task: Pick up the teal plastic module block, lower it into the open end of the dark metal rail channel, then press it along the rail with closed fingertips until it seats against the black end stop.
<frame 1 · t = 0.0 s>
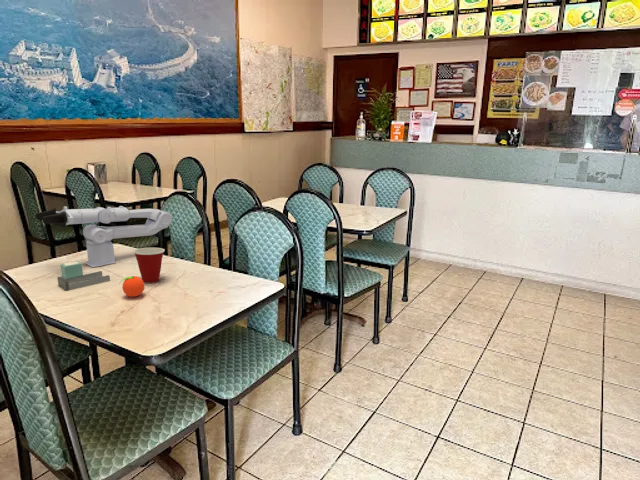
hand: (39, 218, 165), 22 cm above the table, tool horizontal, fingers open, 7 cm apart
clementine: (132, 296, 153), on the table
module: (72, 276, 169), on the table
plastic cup: (151, 280, 168), on the table
rail: (86, 282, 164), on the table
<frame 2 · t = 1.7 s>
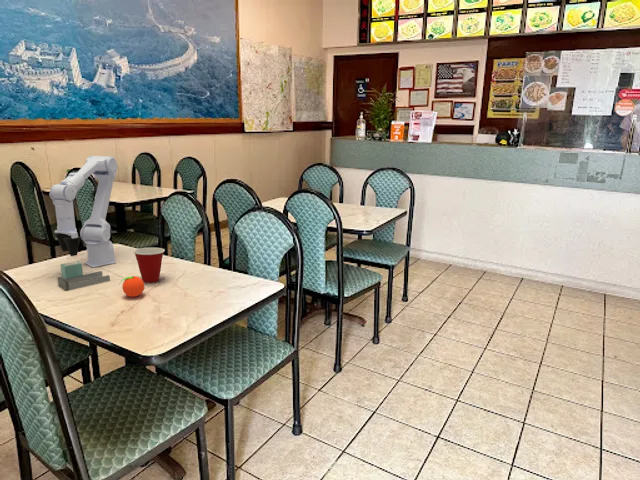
hand: (69, 253, 167), 9 cm above the table, tool pointing down, fingers open, 7 cm apart
nothing on the table moved.
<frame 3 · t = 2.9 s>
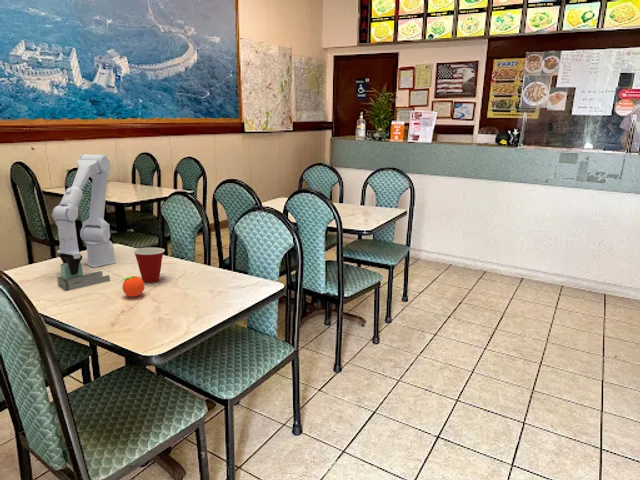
hand: (72, 272, 169), 1 cm above the table, tool pointing down, fingers closed on module, 4 cm apart
module: (72, 276, 169), on the table, touching gripper
everything else where it was.
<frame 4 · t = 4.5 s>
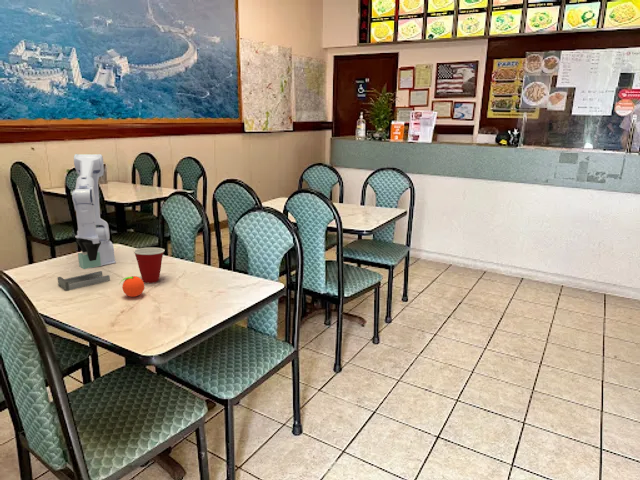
hand: (90, 258, 163), 8 cm above the table, tool pointing down, fingers closed on module, 4 cm apart
module: (90, 266, 164), point 6 cm above the table, touching gripper
everything else where it was.
when the fingers open (3 cm above the table, at t = 6.0 s): module stays where it is, resting in rail.
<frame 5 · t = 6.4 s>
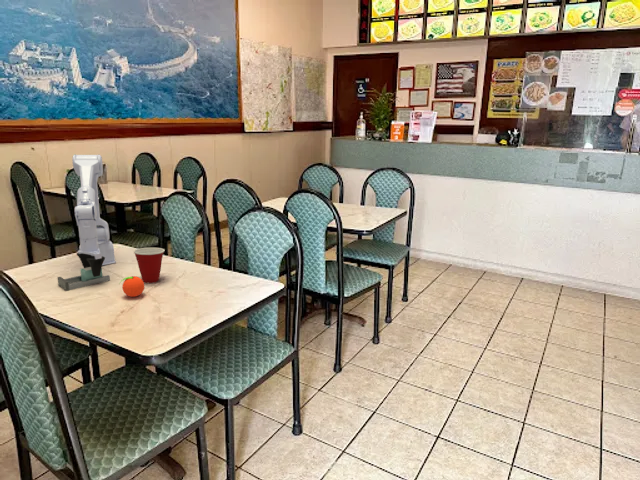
hand: (92, 273, 165), 3 cm above the table, tool pointing down, fingers open, 7 cm apart
module: (92, 281, 165), resting in rail
everything else where it was.
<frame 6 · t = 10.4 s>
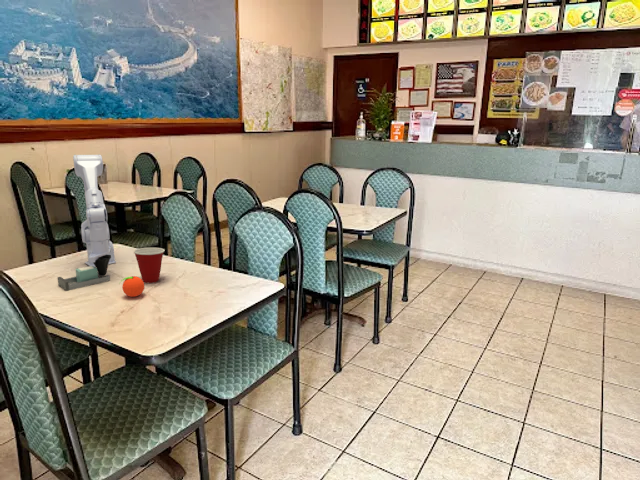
hand: (102, 274, 168), 1 cm above the table, tool pointing down, fingers closed
module: (87, 281, 164), resting in rail, touching gripper
everything else where it was.
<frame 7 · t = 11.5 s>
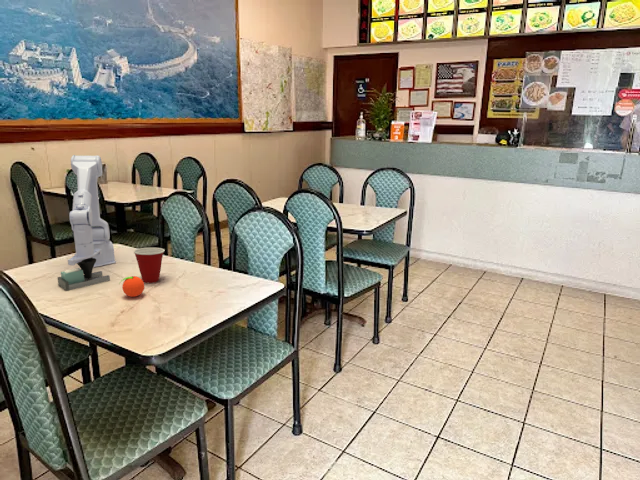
hand: (88, 278, 164), 1 cm above the table, tool pointing down, fingers closed
module: (73, 284, 161), resting in rail, touching gripper
everything else where it was.
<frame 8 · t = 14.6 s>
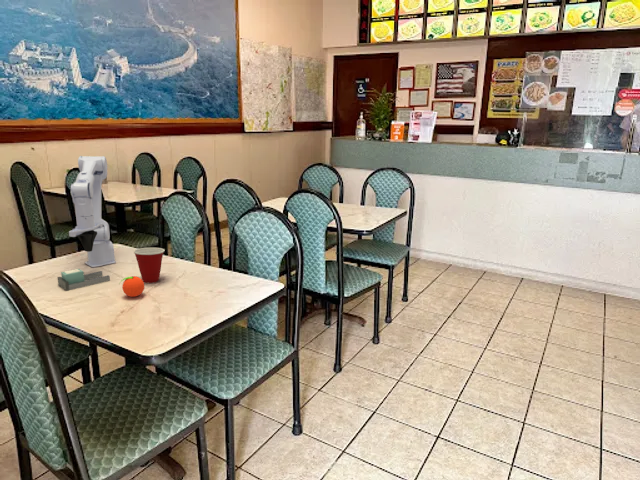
hand: (88, 251, 167), 10 cm above the table, tool pointing down, fingers closed
module: (73, 285, 161), resting in rail
everything else where it was.
at the end: module 0.6 cm from the target spot on the rail, point 0.0 cm above the rail's base; module tilted 0°; the gripper is holding nothing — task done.
